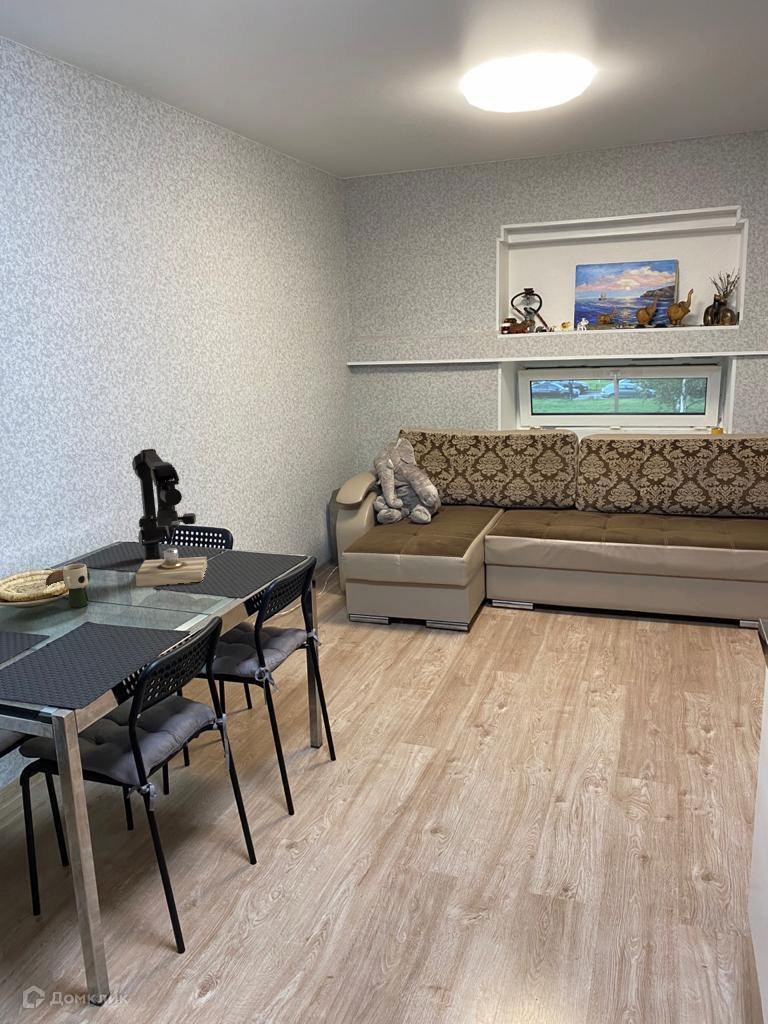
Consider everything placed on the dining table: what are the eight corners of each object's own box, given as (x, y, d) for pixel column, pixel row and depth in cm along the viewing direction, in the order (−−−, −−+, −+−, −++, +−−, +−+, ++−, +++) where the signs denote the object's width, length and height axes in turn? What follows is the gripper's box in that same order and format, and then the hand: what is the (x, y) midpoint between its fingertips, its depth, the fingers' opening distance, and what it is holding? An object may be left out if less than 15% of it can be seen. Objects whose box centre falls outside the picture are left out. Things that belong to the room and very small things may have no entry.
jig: (145, 570, 285) (144, 560, 284) (207, 567, 287) (206, 556, 286) (136, 586, 268) (135, 575, 267) (202, 582, 270) (201, 571, 269)
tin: (50, 599, 257) (47, 575, 255) (45, 597, 259) (42, 573, 257) (91, 586, 269) (88, 563, 267) (86, 585, 271) (83, 562, 269)
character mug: (81, 611, 245) (76, 572, 242) (59, 611, 246) (54, 571, 243) (97, 600, 255) (93, 561, 252) (77, 599, 256) (72, 561, 253)
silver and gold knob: (164, 573, 280) (161, 547, 278) (184, 571, 281) (182, 546, 279) (161, 579, 274) (158, 553, 271) (181, 577, 274) (179, 552, 272)
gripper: (133, 507, 262) (138, 551, 266) (190, 503, 264) (194, 548, 268) (139, 500, 273) (144, 543, 277) (194, 497, 275) (198, 540, 279)
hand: (170, 543), depth 275 cm, fingers closed
